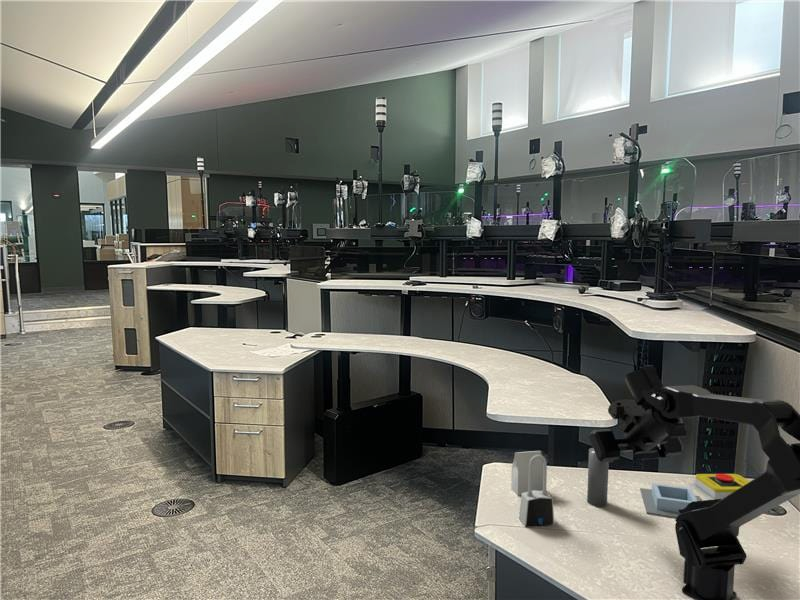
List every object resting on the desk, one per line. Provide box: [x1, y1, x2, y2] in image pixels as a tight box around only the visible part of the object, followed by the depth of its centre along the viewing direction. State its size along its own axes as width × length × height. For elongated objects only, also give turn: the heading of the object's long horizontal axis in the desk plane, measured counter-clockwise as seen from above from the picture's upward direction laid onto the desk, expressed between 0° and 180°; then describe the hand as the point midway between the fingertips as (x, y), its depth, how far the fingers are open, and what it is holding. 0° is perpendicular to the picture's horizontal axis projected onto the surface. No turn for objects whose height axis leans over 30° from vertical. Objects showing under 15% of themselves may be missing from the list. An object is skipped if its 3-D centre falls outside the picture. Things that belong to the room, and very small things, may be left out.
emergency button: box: [688, 473, 750, 500], centre depth 128 cm, size 9×4×15 cm
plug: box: [586, 447, 610, 508], centre depth 121 cm, size 4×4×12 cm
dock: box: [639, 482, 703, 519], centre depth 121 cm, size 13×13×3 cm
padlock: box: [518, 454, 555, 528], centre depth 112 cm, size 7×4×15 cm, turn 100°
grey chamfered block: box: [511, 450, 543, 496], centre depth 127 cm, size 4×7×10 cm, turn 102°
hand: (617, 459), depth 114 cm, fingers open, 9 cm apart
